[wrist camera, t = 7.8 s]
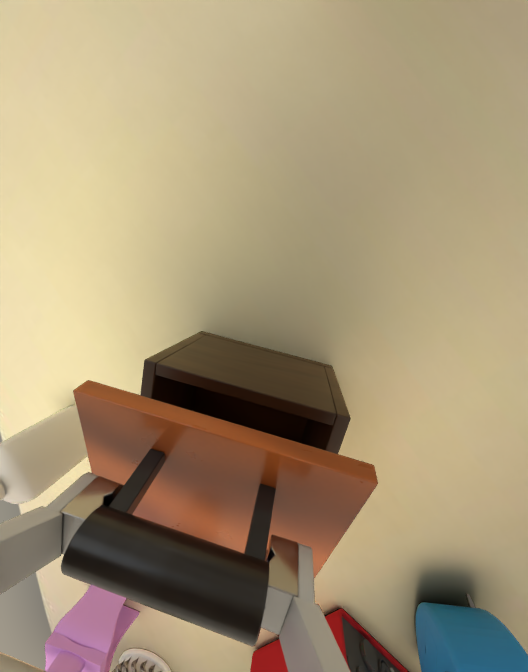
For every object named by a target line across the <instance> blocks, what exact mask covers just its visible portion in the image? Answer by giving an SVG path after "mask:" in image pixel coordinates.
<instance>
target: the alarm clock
mask: <svg viewBox="0 0 528 672" xmlns="http://www.w3.org/2000/svg"><path fill="white" fill-rule="evenodd" d="M466 597H467V601H468V605H469V607H463V606H454V605H445V604H436V603H427V602H422V603H420V604H419V606H418V608H417V611H416V637H417V646H418V653H419V659H420V665H421V670H422V672H528V655H527V653H526V652H525V650H524V649H523V648H522V646H521V645H520V644H519V642H518V641H517V640H516V638H515V637H514V636H513V635H512V633H511V632H510V631H509V630H508V629H507V628H506V626H505V625H504V624H503V623H502V622H501V621H500V620H498V619H497V618H496V617H495V616H493V615H492V614H491V613H489V612H488V611H486V610H483V609H480V608H476V607H475V605H474V603H473V601H472V599H471V597H470V595H469V594H466Z"/></svg>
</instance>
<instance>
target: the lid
mask: <svg viewBox="0 0 528 672" xmlns="http://www.w3.org/2000/svg"><path fill="white" fill-rule="evenodd" d="M73 393H74V397H75V401H76V406H77V410H78V414H79V419H80V423H81V427H82V432H83V436H84V440H85V445H86V449H87V453H88V458H89V462H90V466H91V471H92V474H95V475H98V476H101V477H104V478H106V479H109V480H112V481H114V482H117V483H120V484H122V485H124V486H123V487H122V489H121V490H120V491H119V493H118V494H117V496H116V497H115V498H114V500H113V501H112V502H111V504H110V505H109V506H106V505H104V506H101V507H99V508H97V509H95V510H94V511H93V512H92V513H91V514H90V515H89V516H88V517H87V518H86V519H85V520H84V522H83V523H82V524H81V526H80V527H79V528H78V530H77V531H76V533H75V534H74V536H73V538H72V539H71V541H70V543H69V545H68V547H67V549H66V551H65V554H64V557H63V560H62V564H61V570H62V573H63V574H64V575H67V576H70V577H72V578H75V579H77V580H80V581H83V582H85V583H88V584H91V585H93V586H96V587H98V588H101V589H104V590H106V591H109V592H111V593H114V594H117V595H119V596H122V597H125V598H127V599H130V600H132V601H135V602H138V603H140V604H143V605H145V606H148V607H151V608H153V609H156V610H159V611H161V612H164V613H166V614H169V615H172V616H174V617H177V618H179V619H182V620H185V621H187V622H190V623H193V624H195V625H198V626H200V627H203V628H206V629H208V630H211V631H213V632H216V633H219V634H221V635H224V636H227V637H229V638H232V639H234V640H237V641H240V642H242V643H245V644H248V645H250V646H255V644H256V642H257V640H258V636H259V633H260V629H261V624H262V620H263V615H264V609H265V603H266V597H267V590H268V582H269V563H268V562H267V561H265V556H266V550H268V547H269V540H270V537H271V535H272V534H273V535H276V536H279V537H282V538H286V539H289V540H292V541H295V542H297V543H300V544H303V545H306V546H309V547H311V548H312V551H313V572H314V578H315V577H316V575H317V574H318V572H319V571H320V569H321V568H322V566H323V565H324V563H325V562H326V560H327V559H328V557H329V556H330V554H331V553H332V551H333V550H334V548H335V547H336V545H337V544H338V542H339V541H340V539H341V538H342V536H343V535H344V533H345V532H346V531H347V529H348V528H349V526H350V525H351V523H352V522H353V520H354V519H355V517H356V516H357V514H358V513H359V511H360V510H361V508H362V507H363V505H364V504H365V502H366V501H367V499H368V498H369V496H370V495H371V493H372V492H373V490H374V489H375V487H376V486H377V484H378V481H377V476H376V472H375V467H374V465H372V464H369V463H365V462H362V461H359V460H355V459H352V458H348V457H345V456H342V455H338V454H335V453H332V452H328V451H325V450H322V449H318V448H315V447H312V446H308V445H305V444H302V443H298V442H295V441H291V440H288V439H285V438H281V437H278V436H275V435H271V434H268V433H265V432H261V431H258V430H255V429H251V428H248V427H244V426H241V425H238V424H234V423H231V422H228V421H224V420H221V419H218V418H214V417H211V416H208V415H204V414H201V413H197V412H194V411H191V410H187V409H184V408H181V407H177V406H174V405H171V404H167V403H164V402H161V401H157V400H154V399H150V398H147V397H144V396H140V395H137V394H134V393H130V392H127V391H124V390H120V389H117V388H114V387H110V386H107V385H103V384H100V383H97V382H93V381H90V380H88V381H86V382H85V383H83V384H82V385H80V386H79V387H77V388H76V389H75V390H74V391H73Z"/></svg>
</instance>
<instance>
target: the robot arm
mask: <svg viewBox="0 0 528 672" xmlns="http://www.w3.org/2000/svg"><path fill="white" fill-rule="evenodd" d="M123 486H124V485H122V484H120V483H117V482H114V481H112V480H109V479H106V478H104V477H101V476H98V475H95V474H92V473H90V472H88V473H86V474H84V475H82V476H81V477H80V478H79V479H78V480H76V481H75V482H74V483H73V484H72V485H71V486H70V487H68V488H67V489H66V490H65V491H64V492H63V493H62V494H60V495H59V496H58V497H57V498H56V499H55V500H54V501H52V502H51V503H50V504H49V505H48V506H47V507H43V506H41V507H39V508H36V509H34V510H32V511H29V512H27V513H24V514H22V515H20V516H17V517H15V518H12V519H10V520H7V521H5V522H2V523H0V594H2V593H3V592H5V591H7V590H8V589H10V588H11V587H13V586H14V585H16V584H17V583H19V582H20V581H22V580H24V579H25V578H27V577H28V576H30V575H31V574H33V573H35V572H36V571H38V570H39V569H41V568H42V567H44V566H45V565H47V564H49V563H50V562H52V561H53V560H55V559H56V558H58V557H59V556H61V554H65V551H66V549H67V547H68V545H69V543H70V541H71V539H72V538H73V536H74V534H75V533H76V531H77V530H78V528H79V527H80V526H81V524H82V523H83V522H84V520H85V519H86V518H87V517H88V516H89V515H90V514H91V513H92V512H93V511H94V510H95V509H97V508H99V507H101V506H104V505H106V506H109V505H110V504H111V502H112V501H113V500H114V498H115V497H116V496H117V494H118V493H119V491H120V490H121V489H122V487H123ZM265 561H267V562H268V563H269V582H268V590H267V597H266V603H265V609H264V615H263V620H262V624H261V628H263V629H266V630H268V631H270V632H273V633H275V634H278V635H279V640H280V643H281V647H282V651H283V654H284V658H285V662H286V665H287V669H288V672H350V670H349V668H348V665H347V663H346V661H345V659H344V657H343V655H342V653H341V651H340V648H339V646H338V644H337V642H336V640H335V638H334V636H333V633H332V631H331V629H330V627H329V625H328V623H327V621H326V619H325V616H324V614H323V612H322V610H321V608H320V606H319V605H317V604H315V594H314V572H313V551H312V548H311V547H309V546H306V545H303V544H300V543H297V542H295V541H292V540H289V539H286V538H282V537H279V536H276V535H273V534H272V535H271V537H270V540H269V547H268V550H266V556H265ZM0 672H46V671H44V670H42V669H39V668H37V667H35V666H32V665H30V664H28V663H25V662H23V661H20V660H18V659H16V658H13V657H11V656H9V655H6V654H4V653H2V652H0Z"/></svg>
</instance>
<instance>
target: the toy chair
mask: <svg viewBox="0 0 528 672" xmlns="http://www.w3.org/2000/svg"><path fill="white" fill-rule="evenodd" d="M126 599H127V598H125V597H122V596H119V595H117V594H114V593H111V592H109V591H106V590H104V589H101V588H98V587H96V586H93V585H90V587H89V589H88V590H87V592H86V593H85V594H84V596H83V597H82V598H81V599H80V600H79V601H78V603H77V604H76V605H75V606H74V607H73V608H72V609H71V610H70V611H69V612H68V613H67V614H66V615H65V616H64V617H63V618H62V619H61V620H60V621H59V623H58V624H57V626H56V627H55V629H54V631H53V633H52V634H51V635H50V637H49V638H48V640H47V641H46V643H45V652H46V666H45V671H46V672H109V670H110V665H111V661H112V658H113V655H114V652H115V650H116V647H117V645H118V644H119V642H120V640H121V638H122V637H123V635H124V634H125V632H126V631H127V629H128V628H129V627H130V625H131V624H132V623H133V621H134V620H135V619H136V618H137V616H138V615H139V611H136V610H134V609H131V608H129V607H126V606H124V605H123V604H124V602H125V600H126Z"/></svg>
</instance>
